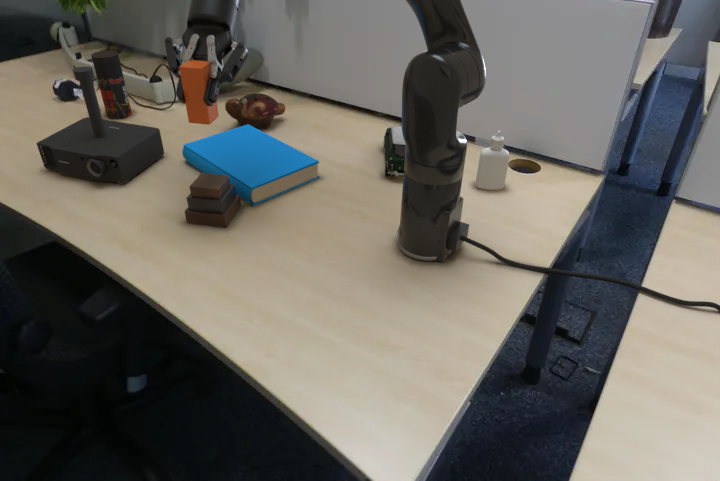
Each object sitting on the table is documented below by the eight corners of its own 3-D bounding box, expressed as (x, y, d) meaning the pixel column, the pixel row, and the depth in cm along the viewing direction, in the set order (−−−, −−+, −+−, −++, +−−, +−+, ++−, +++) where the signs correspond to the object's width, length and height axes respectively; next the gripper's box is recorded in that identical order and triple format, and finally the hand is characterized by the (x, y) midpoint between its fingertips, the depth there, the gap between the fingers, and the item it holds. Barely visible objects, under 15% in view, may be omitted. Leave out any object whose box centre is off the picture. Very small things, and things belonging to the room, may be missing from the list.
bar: (218, 116, 90) (211, 61, 85) (209, 124, 87) (201, 68, 82) (198, 114, 91) (189, 59, 85) (188, 122, 88) (179, 66, 83)
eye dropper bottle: (481, 178, 114) (490, 124, 107) (506, 186, 111) (517, 131, 104) (472, 186, 111) (480, 131, 104) (498, 194, 108) (508, 138, 101)
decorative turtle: (219, 126, 133) (215, 94, 129) (272, 116, 141) (271, 85, 137) (239, 138, 126) (236, 104, 122) (293, 126, 135) (292, 94, 131)
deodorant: (107, 111, 139) (92, 51, 131) (132, 109, 141) (118, 49, 132) (106, 120, 135) (89, 58, 126) (131, 117, 136) (117, 56, 128)
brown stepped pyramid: (241, 206, 103) (237, 173, 99) (226, 227, 97) (221, 193, 93) (204, 201, 104) (198, 168, 100) (186, 222, 98) (180, 188, 94)
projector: (37, 175, 111) (2, 78, 100) (93, 142, 124) (68, 53, 113) (117, 190, 107) (91, 91, 95) (167, 155, 120) (148, 63, 108)
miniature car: (421, 145, 126) (424, 112, 122) (429, 183, 112) (432, 147, 107) (383, 144, 126) (384, 111, 122) (385, 182, 112) (387, 146, 107)
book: (247, 123, 125) (319, 158, 110) (249, 141, 127) (320, 177, 113) (179, 145, 115) (249, 187, 100) (183, 164, 117) (252, 207, 103)
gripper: (164, -14, 85) (141, 88, 83) (250, -9, 83) (229, 96, 80) (185, 14, 93) (164, 109, 90) (265, 19, 91) (246, 116, 88)
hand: (195, 102), depth 85 cm, fingers closed on bar, 3 cm apart
